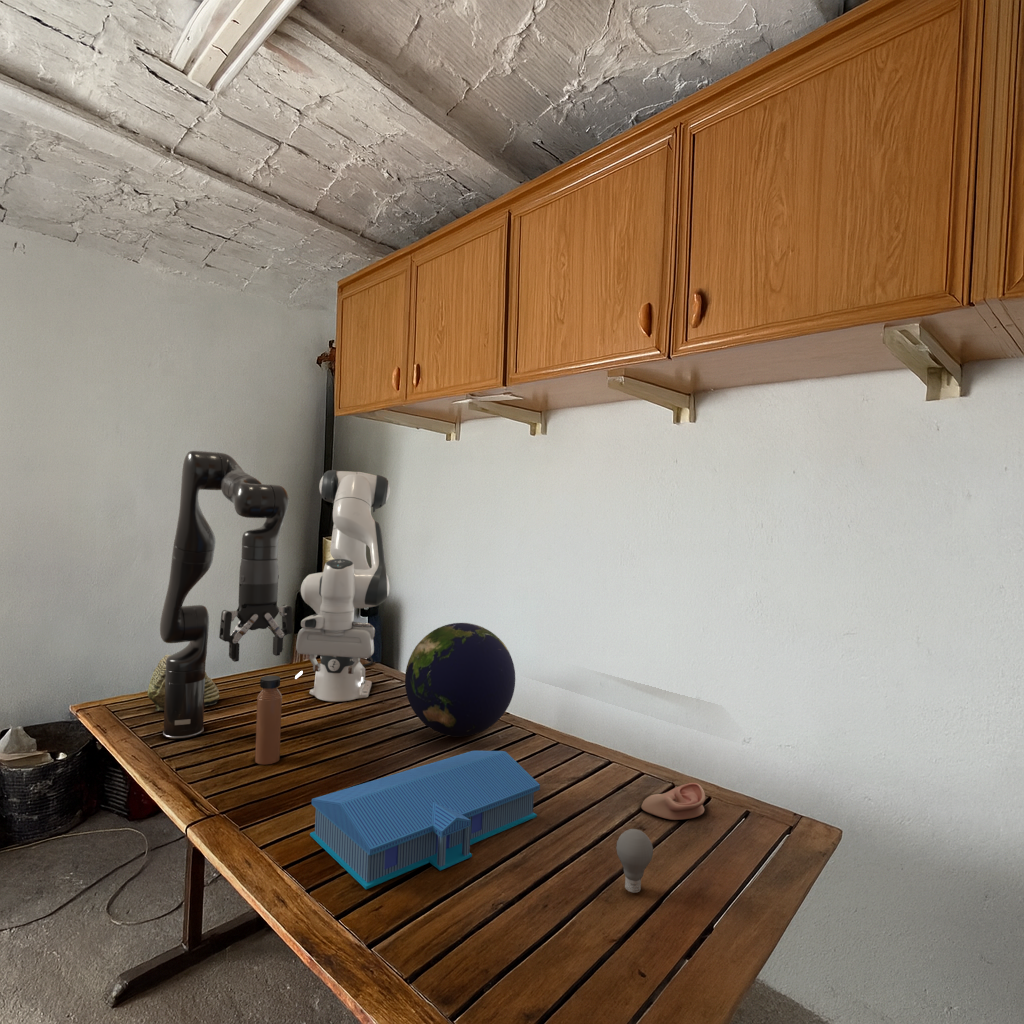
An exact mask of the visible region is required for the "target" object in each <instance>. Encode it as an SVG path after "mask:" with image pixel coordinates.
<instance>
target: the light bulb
mask: <svg viewBox="0 0 1024 1024" xmlns="http://www.w3.org/2000/svg"><path fill="white" fill-rule="evenodd" d="M615 849H616V854H617V857H618V859H619V861H620V863H621V865H622V867H623V873H624V874H623V875H624V876H625V878H624V888H625V890H627V891H628V892H630V893H634V894H635V893H639V892H640V891H641V889H642V887H641V886H642V879H643V877H644V875H645V871H646V868H647V867H648V866H649V864H650V863H651V861H652V859H653V855H654V847H653V843H652V841H651V838H649V836H648V835H647V834H646V833H645V832H643V831H642V830H641V829H636V828H629V829H627V830H625V831H623V832H622V833H621V834H620V835H619V837H618V839H617V841H616V847H615Z"/></svg>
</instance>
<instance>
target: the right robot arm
mask: <svg viewBox="0 0 1024 1024" xmlns="http://www.w3.org/2000/svg"><path fill="white" fill-rule="evenodd" d="M318 486H319V488H318V489H319V493H320V497H321V498H322V499H323V501H326V502H328V503H331V504H333V507H332V508H333V509H332V523H333V526H332V534H331V541H330V548H329V550H330V551H329V553H330V555H331V557H332V558H333V559H330V560H327V561H326V562H325V564H324V567H323V570H322V571H321V572H315V573H309V574H308V575H306V577H305V578H304V579H303V581H302V583H301V585H300V595H301V598H302V600H303V601H304V603H305V604H307V606H309V607H310V608H311V609H312V610H313V611H314V612H315V613H314V614H311V615H309V616H306V617H304V618H303V619H302V620H301V621H300V627H301V629H299V631H298V633H297V638H296V643H295V644H296V645H295V650H296V652H297V654H299V655H307V656H309V657H308V658H309V661H310V663H311V665H312V671H313V672H315V675H314V683H313V684H314V686H313V688H311V689H309V695H312V696H314V697H315V698H316V699H317V700H320V701H325V702H337V703H339V702H347V701H353V700H356V699H365V698H368V697H369V695H370V691H371V689H372V685H373V682H372V681H371V680H368V679H366V668H365V667H367V666H370V665H372V664H373V662H374V659H373V658H372V656H373V655H374V653H375V644H374V643H375V641H374V639H375V637H376V634H375V633H376V629H375V627H374V625H372V624H371V623H369V622H360V621H355V609H367V608H373V607H378V606H380V605H381V604H383V603H384V602H385V601H386V600H388V598H389V595H390V580H389V576H388V573H387V569H386V568H387V567H386V557H385V548H384V541H383V540H384V539H383V534H382V528H381V525H380V523H379V522H377V520H375V519H374V517H373V515H372V513H375V512H376V510H378V509H381V508H383V506H385V505H386V503H387V501H388V500H389V497H390V494H391V487H390V484H389V480H388V478H387V477H385V476H383V475H379V474H376V475H375V474H372V473H367V472H363V471H362V472H361V471H350V470H349V471H348V470H337V469H331V470H330V469H329V470H327V471H325V472H324V473H323V475H322V477H321V478H320V480H319V485H318ZM367 547H368V548H369V553H370V554H369V555H370V564H371V567H370V565H369V562H368V559H367ZM318 656H320V662H319V663H318V661H317V657H318ZM361 659H367V660H368V661H369V662H367V663H365V664H363V663H362V662H361ZM302 675H303V670H301V671H299V672H298V673H297V674H296V675H295V677H294V679H295V680H297V679H298V678H299V677H300V676H302Z"/></svg>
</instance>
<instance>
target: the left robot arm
mask: <svg viewBox="0 0 1024 1024" xmlns="http://www.w3.org/2000/svg"><path fill="white" fill-rule="evenodd" d="M204 490H206V491H221V493H222V495H223V496H224V497H225V499H227V500H228V501H229V502H231V503H232V504H233V506H234V510H235V512H236V514H237V515H238V516H240V517H242V518H246V519H265V521H264V523H263V524H262V525H261V526H260V527H258V528H253V529H248V530H246V531H244V533H243V534H242V538H241V559H240V566H239V576H238V580H239V581H238V606H237V609H236V610H228V609H223V610H222V611H221V613H220V622H219V623H220V626H219V635H218V638H219V639H220V640H222V641H223V642H228V657H229V659H231V661H232V662H234V663H235V662H240V644H241V643H239V642H240V641H241V639H242V638H243V636H244V635H246V634H247V633H248V631H249V630H250V631H256V630H258V629H260V630H267V628H268V629H269V631H271V633H272V634H273V635H274V636H273V637H272V655H274V656H276V657H277V656H278V657H279V656H280V655H281V653H282V652H283V650H284V648H283V646H284V637H286V636H287V635H291V634H292V633H293V607H292V606H290V605H287V604H282V606H278V594H279V592H278V591H279V579H280V575H279V561H278V560H279V559H278V557H279V539H280V535H281V532H282V527H283V525H284V521H285V518H286V516H287V513H288V509H289V506H290V505H289V504H290V497H289V494H288V491H287V490H286V489H285V487H283V486H282V485H278V484H262V482H261V481H260V480H259V479H257V478H256V477H254V476H252V475H251V474H248V473H246V472H245V471H244V469H243V468H242V467H241V466H240V465H239V463H238V462H237V461H236V460H235V459H234V458H233V457H232V456H231V455H229V454H227V453H224V452H216V451H205V450H204V451H203V450H191V451H188V452H187V453H186V455H185V457H184V460H183V463H182V471H181V483H180V500H179V509H178V510H179V512H178V518H177V524H176V530H175V535H174V542H173V546H172V554H171V563H170V564H171V565H170V572H169V579H168V586H167V590H166V594H165V599H164V603H163V608H162V611H161V616H160V622H159V634H160V635H159V636H160V638H161V640H162V641H163V642H164V643H166V644H178V643H188V644H187V645H186V646H184V647H183V648H182V649H180V650H179V651H177V652H175V653H173V654H170V655H171V656H169V657H168V658H167V660H166V674H165V705H164V710H163V731H162V737H164V738H166V739H169V740H185V739H190V738H191V739H192V738H194V737H197V736H199V735H202V734H203V732H204V730H205V729H204V722H205V721H204V718H205V706H204V693H205V672H206V664H207V663H206V660H207V653H208V640H209V633H210V631H209V630H210V615H209V614H210V613H209V610H208V609H207V607H206V606H205V605H203V604H194V605H193V604H192V605H183V604H184V603H185V600H186V598H187V596H188V595H189V593H190V592H191V590H192V589H193V588H194V587H195V586H196V585H197V584H198V583H199V581H200V580H201V579H202V578H203V577H204V576H205V575H206V573H208V571H209V570H210V568H211V566H212V564H213V561H214V554H215V548H216V536H215V534H214V531H213V529H212V526H210V524H209V522H208V521H207V519H206V517H205V516H204V513H203V511H202V508H201V507H200V506H201V505H200V503H199V492H200V491H204ZM278 615H279V616H281V626H282V627H281V628H280V626H279V624H278V623H277V622H276V620H275V619H276V617H277V616H278ZM235 618H237V619H238V622H237V624H236V626H234V629H233V631H231V630H232V623H233V622H234V621H235Z"/></svg>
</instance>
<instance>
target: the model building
mask: <svg viewBox="0 0 1024 1024" xmlns="http://www.w3.org/2000/svg"><path fill="white" fill-rule="evenodd" d="M538 791H541V784H540V783H539V782H538V781H537V780H536V779H535V778H534V777H533V776H532V775H531V774H530V773H529V772H527V771H526V769H524V768H523V766H521V764H519V762H517V761H516V760H515V759H514V757H512V756H511V755H510V754H509V753H508V752H507V750H471V751H467V752H464V753H460V754H457V755H454V756H449V757H447V758H444V759H441V760H437V761H434V762H431V763H427V764H423V765H420V766H417V767H414V768H410V769H407V770H403V771H400V772H397V773H394V774H390V775H387V776H384V777H381V778H380V777H379V778H377V779H374V780H371V781H366V782H364V783H360V784H357V785H354V786H350V787H347V788H344V789H339V790H337V791H334V792H330V793H327V794H324V795H319V796H316V797H314V798H311V806H313V807H314V808H315V817H314V831H311V832H310V833H309V836H310V838H312V839H313V840H314V841H315V842H316V843H317V845H319V846H320V847H321V848H322V849H323V850H325V852H326V853H327V854H329V856H330V857H331V858H333V859H334V860H335V861H336V862H337V863H338V864H339V865H340V866H341V867H342V868H343V869H344V870H345V871H346V872H347V874H349V875H350V876H351V877H352V878H353V879H354V880H355V881H356V882H357V883H359V885H361V886H362V887H363V888H364V890H369V889H371V888H373V887H375V886H378V885H381V884H382V883H385V882H388V881H389V880H392V879H394V878H397V877H399V876H402V875H404V874H406V873H408V872H410V871H413V870H416V869H417V868H420V867H423V866H424V865H427V864H429V863H430V864H431V865H432V866H433V867H434V868H436V869H437V870H438V871H440V872H441V871H443V870H445V869H448V868H450V867H452V866H455V865H457V864H459V863H461V862H463V861H465V860H468V859H471V858H473V853H471V852H470V851H471V846H472V845H474V844H476V843H478V842H482V841H484V840H486V839H488V838H490V837H493V836H495V835H497V834H499V833H502V832H505V831H506V830H507V831H508V830H510V829H512V828H513V827H516V826H519V825H520V824H523V823H525V822H527V821H530V820H532V819H535V818H537V817H538V814H537V813H535V812H534V798H535V797H534V796H535V792H538Z"/></svg>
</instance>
